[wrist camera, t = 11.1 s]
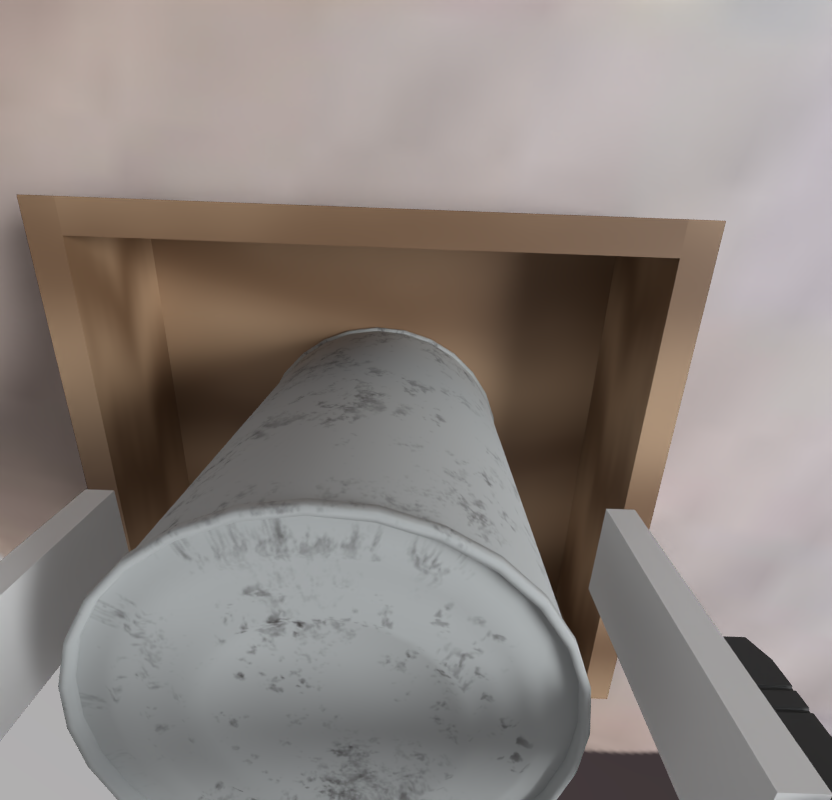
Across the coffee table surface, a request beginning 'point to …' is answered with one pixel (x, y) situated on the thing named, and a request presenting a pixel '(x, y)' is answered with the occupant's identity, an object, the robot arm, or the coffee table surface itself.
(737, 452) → the coffee table surface
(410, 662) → the speckled white tin can
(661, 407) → the walnut box
